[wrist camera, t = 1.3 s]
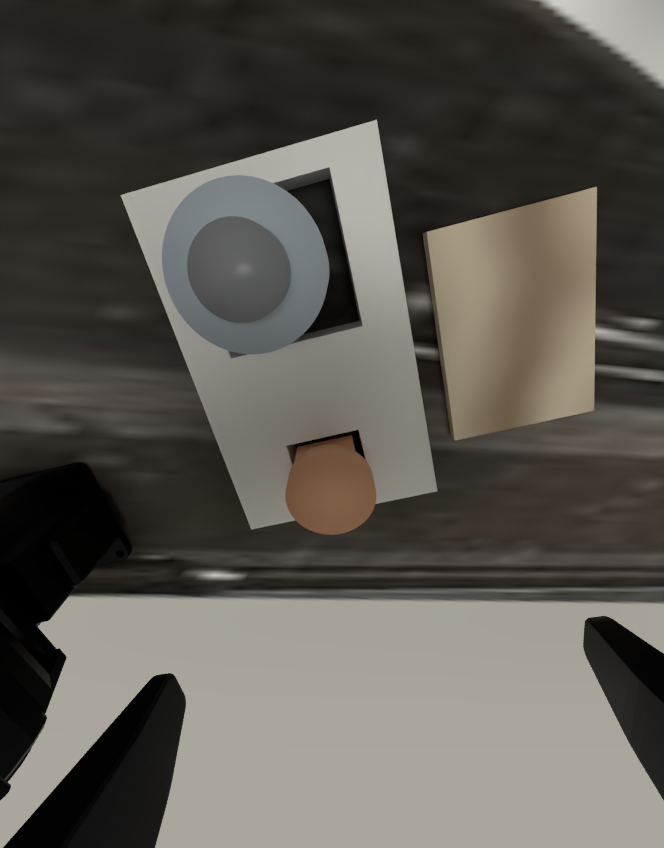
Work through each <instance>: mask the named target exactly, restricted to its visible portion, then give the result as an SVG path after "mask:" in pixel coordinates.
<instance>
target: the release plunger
mask: <svg viewBox="0 0 664 848" xmlns="http://www.w3.org/2000/svg"><path fill="white" fill-rule="evenodd" d="M285 498H286V504H287V507H288V510H289V512H290V514H291V515H292V517H293V518H294V519H295V520H296V521H297V522H298V523H299V524H300V525H302V526H303V527H305V528H306V529H308V530H311V531H313V532H316V533H320V534H327V535H335V534H342V533H346V532H349V531H351V530H353V529H355V528H357V527H359V526H360V525H362V524H363V523H364V522H365V521H366V520H367V519H368V518H369V516H370V515H371V513H372V511H373V509H374V507H375V503H376V488H375V483H374V478H373V473H372V470H371V468H370V466H369V464H368V463H367V461H366V460H365V459H364V458H363V457H362V456H361V455H360V454H359V453H357V452H356V450H355V446H354V442H353V438H352V435H349V436H344V437H340V438H335V439H331V440H326V441H322V442H317V443H313V444H308V445H304V446H299V447H297V451H296V456H295V461H294V464H293V466H292V467H291V470H290V473H289V477H288V482H287V487H286V493H285Z"/></svg>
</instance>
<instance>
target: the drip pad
mask: <svg viewBox="0 0 664 848" xmlns="http://www.w3.org/2000/svg"><path fill="white" fill-rule="evenodd" d="M596 220H597V187H594V188H591V189H587V190H583V191H579V192H575V193H572V194H568V195H564V196H560V197H557V198H553V199H549V200H545V201H542V202H538V203H534V204H530V205H526V206H523V207H519V208H515V209H511V210H508V211H504V212H500V213H496V214H493V215H489V216H485V217H481V218H477V219H474V220H470V221H466V222H462V223H459V224H455V225H451V226H447V227H444V228H440V229H436V230H432V231H428V232H425V233H423V241H424V248H425V255H426V262H427V269H428V277H429V284H430V291H431V298H432V305H433V312H434V320H435V327H436V334H437V341H438V348H439V356H440V363H441V370H442V377H443V384H444V391H445V399H446V406H447V413H448V420H449V427H450V434H451V436H452V437H453V439H454V440H455V441H456V440H460V439H465V438H470V437H474V436H479V435H483V434H488V433H493V432H497V431H502V430H507V429H511V428H516V427H520V426H525V425H530V424H534V423H539V422H544V421H548V420H553V419H557V418H562V417H567V416H571V415H576V414H581V413H585V412H590V411H594V375H595V298H596Z"/></svg>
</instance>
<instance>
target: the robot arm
mask: <svg viewBox="0 0 664 848" xmlns="http://www.w3.org/2000/svg"><path fill="white" fill-rule="evenodd" d="M76 471H77V472H79V473H80V475H78V474H77V473H76ZM120 550H121V551H123V552H121V551H120ZM130 553H131V547H130V545H129V543H128V541H127V539H126V538H125V536H124V534H123V532H122V530H121V528H120V527H119V525H118V523H117V521H116V519H115V517H114V516H113V514H112V512H111V510H110V508H109V506H108V505H107V503H106V501H105V499H104V497H103V495H102V494H101V492H100V490H99V488H98V486H97V484H96V483H95V481H94V479H93V477H92V475H91V473H90V472H89V470H88V468H87V467H86V466H85V465H83V464H80V463H75V464H71V465H67V466H62V467H58V468H54V469H49V470H45V471H41V472H36V473H32V474H28V475H23V476H19V477H15V478H10V479H6V480H2V481H0V800H1V799H2V798H3V797H4V796H5V795H6V794H7V793H8V792H9V790H10V788H11V785H10V784H9V783H8V781H9V780H10V778H11V777H12V776H13V775H14V773H15V772H16V771H17V769H18V768H19V767H20V766H21V764H22V763H23V761H24V760H25V758H26V756H27V755H28V753H29V752H30V750H31V748H32V746H33V744H34V743H35V740H36V739H37V738H38V736H39V734H40V733H41V731H42V729H43V727H44V725H45V722H46V719H47V717H46V715H45V713H46V710H47V708H48V705H49V702H50V700H51V697H52V694H53V691H54V689H55V686H56V684H57V681H58V679H59V676H60V673H61V671H62V668H63V665H64V663H65V660H66V656H65V654H64V653H63V652H62V651H61V650H60V649H56V648H55V647H54V646H53V644H52V643H51V642H50V641H49V640H48V639H47V638H46V636H45V635H44V634H43V633H42V632H41V631H40V630H39V628H38V625H39V624H40V623H41V622H44V621H48V620H50V619H51V617H52V616H53V615H54V614H55V612H56V611H57V610H58V609H59V608H60V606H61V605H62V604H63V603H64V601H65V600H66V599H67V598H68V596H69V595H70V594H71V593H72V591H73V590H74V589H75V588H76V586H79V585H81V584H82V582H83V581H84V580H85V579H86V577H87V576H88V575H89V574H90V572H91V571H92V570H93V569H94V567H95V566H97V565H101V564H106V563H111V562H116V561H121V560H125V559H126V558H127V557H128V556H129V555H130ZM583 644H584V645H583V647H584V651H585V655H586V657H587V659H588V661H589V663H590V665H591V667H592V669H593V671H594V673H595V675H596V677H597V679H598V682H599V684H600V686H601V687H602V690H603V692H604V694H605V696H606V697H607V700H608V702H609V704H610V705H611V708H612V710H613V712H614V714H615V716H616V718H617V720H618V722H619V724H620V726H621V728H622V730H623V732H624V734H625V736H626V737H627V739H628V741H629V743H630V745H631V747H632V748H633V750H634V752H635V754H636V755H637V757H638V759H639V760H640V762H641V764H642V765H643V767H644V768H645V770H646V772H647V774H648V775H649V777H650V779H651V780H652V782H653V784H654V785H655V787H656V788H657V790H658V792H659V793H660V795H661V797H662V798H663V800H664V654H663V653H662V652H660V651H659V650H657V649H656V648H654V647H652V646H651V645H650V644H648V643H647V642H645V641H644V640H642V639H641V638H639V637H638V636H636V635H635V634H634V633H632V632H630V631H629V630H628V629H626V628H625V627H623V626H622V625H620V624H619V623H617V622H616V621H614V620H613V619H611V618H609V617H606V616H601V617H593V618H588V619H587V620H586V621H585V628H584V643H583ZM185 707H186V700H185V695H184V693H183V691H182V689H181V687H180V685H179V683H178V681H177V679H176V678H175V676H174V675H173V674H170V673H169V674H161V675H156V676H154V677H153V678H152V679H151V680H150V681H149V682H148V683H147V684H146V685H145V686H144V687H143V688H142V690H141V691H140V692H139V693H138V694H137V695H136V697H135V698H134V699H133V700H132V701H131V702H130V703H129V704H128V706H127V707H126V708H125V709H124V710H123V711H122V713H121V714H120V715H119V716H118V717H117V718H116V719H115V720H114V722H113V723H112V724H111V725H110V726H109V727H108V729H107V730H106V731H105V732H104V733H103V734H102V735H101V736H100V738H99V739H98V740H97V741H96V742H95V743H94V744H93V746H92V747H91V748H90V749H89V750H88V751H87V753H86V754H85V755H84V756H83V757H82V758H81V759H80V760H79V762H78V763H77V764H76V765H75V766H74V767H73V769H72V770H71V771H70V772H69V773H68V774H67V775H66V776H65V778H64V779H63V780H62V781H61V782H60V783H59V785H58V786H57V787H56V788H55V789H54V790H53V792H52V793H51V794H50V795H49V796H48V797H47V799H45V801H44V802H43V803H42V804H41V805H40V806H39V807H38V809H37V810H36V811H35V812H34V813H33V814H32V815H31V817H30V818H29V819H28V820H27V821H26V822H25V823H24V825H23V826H22V827H21V828H20V829H19V830H18V831H17V833H16V834H15V835H14V836H13V837H12V838H11V839H10V841H9V842H8V843H7V844H6V845H5V846H4V847H3V848H155V845H156V841H157V838H158V834H159V830H160V827H161V823H162V819H163V815H164V811H165V808H166V804H167V800H168V796H169V792H170V787H171V782H172V777H173V773H174V767H175V761H176V756H177V751H178V746H179V740H180V735H181V729H182V724H183V719H184V713H185Z"/></svg>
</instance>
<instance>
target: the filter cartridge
mask: <svg viewBox="0 0 664 848" xmlns="http://www.w3.org/2000/svg"><path fill="white" fill-rule="evenodd" d="M162 268H163V275H164V280H165V284H166V287H167V290H168V293H169V295H170V297H171V300H172V302H173V304H174V306H175V307H176V309H177V311H178V312H179V314H180V315H181V316H182V318H183V319H184V320H185V322H186V323H187V324H188V325H189V326H190V327H191V328H192V329H193V330H194V331H195V332H196V333H197V334H199V335H200V336H201V337H202V338H204V339H205V340H207V341H208V342H210V343H212V344H214V345H216V346H218V347H220V348H222V349H225V350H228V351H231V352H236V353H240V354H263V353H269V352H272V351H276V350H279V349H281V348H283V347H285V346H287V345H289V344H291V343H292V342H294V341H295V340H297V339H298V338H299V337H300V336H301V335H303V334H304V333H305V332H306V331H307V329H308V328H309V327H310V326H311V325H312V323H313V322H314V320H315V319H316V317H317V316H318V314H319V312H320V310H321V307H322V305H323V302H324V299H325V296H326V291H327V287H328V282H329V276H330V265H329V259H328V255H327V252H326V249H325V245H324V242H323V238H322V236H321V234H320V231H319V229H318V227H317V225H316V224H315V222H314V220H313V218H312V217H311V215H310V214H309V213H308V211H307V210H306V209H305V207H304V206H303V205H302V204H301V203H300V202H299V201H298V200H297V199H296V198H295V197H293V196H292V195H291V194H290V193H288V192H287V191H286V190H284V189H283V188H281V187H279V186H277V185H276V184H274V183H271V182H269V181H266V180H264V179H260V178H256V177H253V176H243V175H234V176H225V177H220V178H216V179H214V180H211V181H208V182H206V183H204V184H202V185H201V186H199V187H197V188H196V189H194V190H193V191H192V192H191V193H189V194H188V195H187V196H186V197H185V198H184V199H183V201H182V202H181V203H180V204H179V205H178V207H177V208H176V210H175V211H174V213H173V215H172V217H171V219H170V221H169V223H168V226H167V229H166V232H165V235H164V240H163V246H162Z"/></svg>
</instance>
